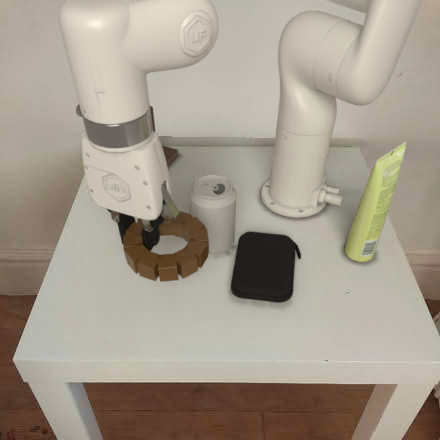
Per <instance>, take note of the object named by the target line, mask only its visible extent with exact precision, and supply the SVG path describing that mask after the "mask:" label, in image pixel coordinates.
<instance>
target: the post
mask: <svg viewBox="0 0 440 440" xmlns="http://www.w3.org/2000/svg"><path fill="white" fill-rule="evenodd" d="M150 110H151V118H152V125H153V131H154V132H156V133H157V131H156V123H155V112H154V107H153V106H152V105H150ZM162 148H163V151H164V155H165V158H166V163H167V167H170V166H171V164H172V163H173V162H174V161H175V160H176V159H177V158H178V157H179V149H177V148H174V147H169V146H165V145H162Z"/></svg>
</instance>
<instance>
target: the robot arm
mask: <svg viewBox="0 0 440 440" xmlns="http://www.w3.org/2000/svg"><path fill="white" fill-rule="evenodd" d="M326 1H327V2H330V3H333V4H336V5H338V6H341V7H344V8H348V9H351V10H353V11H357V12H360V13H362V14H365V15H364V22H363V24H360V23H358V22H354V21H352V20H350V19H347V18H345V17H341V16H339V15H335V14H331V13H328V12H326V11H321V10H305V11H301V12H299V13H297V14H295V15H294V16H292V17H291V18H290V19H289V21H288V22H287V23H286V24H285V26H284V27H283V30H282V32H281V34H280V37H279V40H278V41H279V42H278V48H277V64H278V65H277V66H278V76H279V102H278V111H277V121H276V129H275V130H276V131H275V139H274V147H273V156H272V166H271V173H270V174H271V175H270V178H269V179H268V180H266V181H265V183H263V185H262V186H261V191H260V198H261V201H262V203H263V204H264V206H265V207H266V208H267V209H269V210H270V211H272V212H273V213H275V214H276V215H280V216H283V217H287V218H295V219H296V218H297V219H298V218H299V219H300V218H308V217H311V216H314V215H316V214H318V213H320V212H321V211H322V210H324V208H325V207H326V205H327V204H330V205H333V206H336V207H342V204H343V201H344V197H345V196H344V195H341V194H340V191H341V188H339V187H335V186H329V184H327V183H326V182H327V178H328V176H326V175H325V172H326V171H325V170H326V165H327V162H328V157H329V152H330V147H331V142H332V138H333V133H334V128H335V124H336V119H337V112H338V107H337V99H338V100H340V101H343V102H345V103H348V104H351V105H354V106H359V107H361V106H362V107H363V106H367V105H371V104H372V103H374V101H376V100H377V99H379V98H380V96H381V95H382V93H383V92H384V91H385V89H386V88H387V85H389V82H390V80H391V78H392V76H393V74H394V72H395V69H396V66H397V64H398V62H399V59H400V57H401V55H402V52H403V49H404V47H405V45H406V42H407V40H408V37H409V35H410V32H411V31H412V30H411V29H412V28H413V25H414V23H415V19H416V18H417V15H418V12H419V10H420V7H421V5H422V2H423V0H326ZM58 24H59V29H60V33H61V36H62V37H61V38H62V42H63V45H64V49H65V52H66V57H67V61H68V64H69V69H70V72H71V77H72V81H73V85H74V89H75V93H76V97H77V100H78V104H77V105H76V107H75V108H76V109H75V113H76V115H77V116H78V117H81V118H82V122H83V125H84V130H83V131H82V133H81V157H82V159H81V160H82V165H83V173H84V177H85V182H86V187H87V191H88V194H89V197H90V199H91V201H92V202H93V204H95V205H97V206H98V207H101V208H104V209H106V211H107V212H109V213H110V216H111V220H112V221H113V222H115V223H116V224H117V228H118V232H119V237H120V241H121V244H122V245H123V239H124V235H126V233H125V232H126V231H127V229H128V228H129V227H130V226H131V225H132V223H133V222H136V218H137V219H138V218H141V219H142V223H143V227H144V228H143V229H142V230H141V235H142V239H143V244H144V246H145V247H146V248H147V249H148V250H149V251H151V252H152V250H153V249H154V247H156V246H157V245H158V244H159V243H160V240H161V236H160V234H159V227H158V226H159V225H160V224H162V223H163V222H170V221H175V220H176V218H177V217H178V216H179V214H180V213H179V211H180V210H179V209H178V207H177V205H176V204H175V202H174V200H173V198H172V185H171V178H170V173H169V168H168V167H169V166H168V167H167V163H166V158H165V155H164V151H163V148H162V146H163V145H162V142H161V139H160V137H159V134H158V132H157V131H156V132H154V131H153V125H152V118H151V110H150V106H151V104H150V96H149V95H150V94H149V88H148V79H147V76H148V74H150V73H158V72H164V71H172V70H173V71H174V70H180V69H186V68H188V67H191V66H194V65H196V64H198V63H199V62H201V61H202V60H204V59H205V58H206V57H207V56H208V55H209V54H210V53H211V51H212V49H213V48H214V47H215V44H216V42H217V40H218V36H219V26H220V25H219V24H220V23H219V17H218V13H217V10H216V8H215V6H214V4H213V3H212V1H211V0H65V1H63V2H62V4H61V5H60V8H59V11H58Z"/></svg>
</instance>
